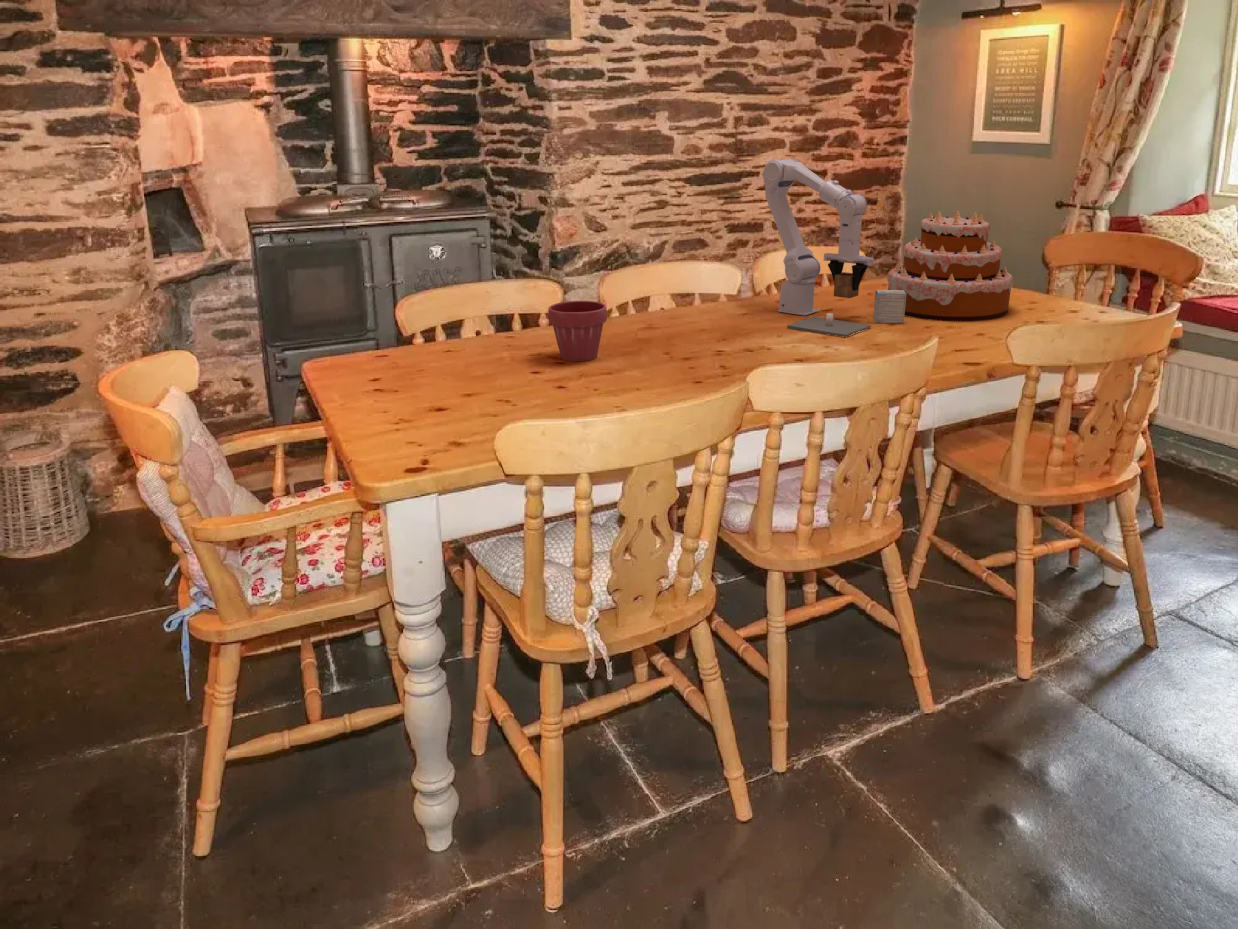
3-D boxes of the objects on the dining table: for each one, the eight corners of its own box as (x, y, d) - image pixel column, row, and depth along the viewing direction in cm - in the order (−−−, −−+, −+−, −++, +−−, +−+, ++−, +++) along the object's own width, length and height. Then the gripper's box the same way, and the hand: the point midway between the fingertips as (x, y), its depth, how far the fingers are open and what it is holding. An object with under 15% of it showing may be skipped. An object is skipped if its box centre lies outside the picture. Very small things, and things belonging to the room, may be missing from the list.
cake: (986, 296, 313) (997, 205, 303) (1027, 321, 280) (1040, 219, 270) (873, 297, 314) (880, 206, 304) (901, 322, 281) (910, 221, 271)
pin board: (787, 328, 276) (787, 313, 274) (813, 319, 286) (814, 305, 284) (845, 337, 265) (846, 322, 263) (871, 328, 275) (872, 313, 273)
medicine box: (901, 320, 283) (904, 289, 280) (903, 323, 279) (906, 292, 276) (872, 320, 284) (875, 289, 281) (875, 323, 280) (877, 292, 277)
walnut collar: (833, 296, 282) (834, 274, 280) (842, 293, 286) (843, 272, 284) (849, 298, 279) (850, 276, 277) (858, 295, 283) (859, 274, 281)
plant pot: (540, 361, 246) (538, 309, 242) (563, 348, 259) (562, 298, 254) (594, 366, 242) (593, 313, 237) (615, 352, 254) (614, 302, 249)
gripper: (819, 239, 279) (816, 287, 283) (866, 243, 270) (862, 294, 275) (832, 236, 284) (829, 284, 288) (878, 240, 275) (875, 290, 279)
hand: (846, 288), depth 282 cm, fingers closed on walnut collar, 5 cm apart
